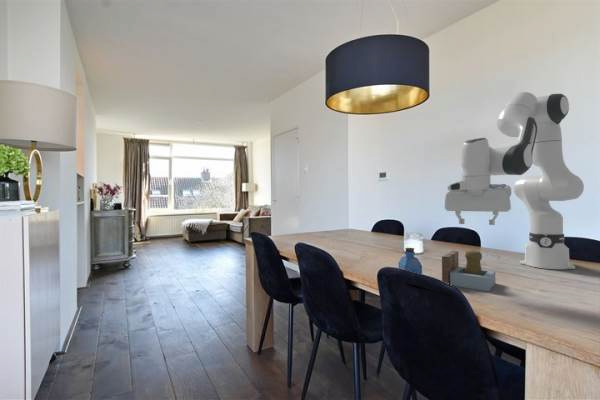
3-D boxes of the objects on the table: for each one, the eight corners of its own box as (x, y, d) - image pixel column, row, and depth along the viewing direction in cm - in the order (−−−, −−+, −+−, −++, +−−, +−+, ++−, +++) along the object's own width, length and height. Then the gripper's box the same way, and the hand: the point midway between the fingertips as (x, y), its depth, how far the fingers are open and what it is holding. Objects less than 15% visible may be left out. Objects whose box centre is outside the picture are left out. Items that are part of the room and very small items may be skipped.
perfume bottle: (398, 278, 122) (398, 247, 122) (414, 278, 123) (414, 246, 123) (405, 283, 116) (405, 250, 116) (422, 282, 117) (421, 249, 116)
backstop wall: (452, 276, 124) (452, 250, 124) (458, 277, 123) (458, 251, 123) (442, 284, 113) (441, 256, 113) (448, 285, 112) (447, 257, 112)
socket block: (458, 278, 122) (458, 266, 122) (495, 283, 114) (495, 270, 114) (449, 285, 113) (449, 272, 112) (489, 291, 105) (489, 278, 105)
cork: (486, 284, 110) (485, 252, 109) (466, 284, 111) (466, 252, 111) (480, 280, 115) (480, 249, 115) (461, 279, 117) (461, 249, 117)
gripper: (512, 183, 108) (513, 224, 109) (447, 185, 121) (448, 222, 122) (509, 183, 104) (510, 226, 104) (442, 185, 117) (443, 224, 117)
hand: (476, 224), depth 113 cm, fingers open, 8 cm apart
